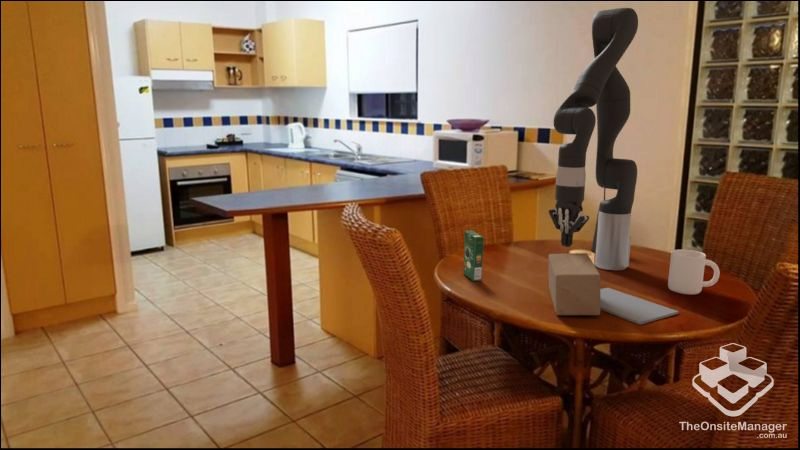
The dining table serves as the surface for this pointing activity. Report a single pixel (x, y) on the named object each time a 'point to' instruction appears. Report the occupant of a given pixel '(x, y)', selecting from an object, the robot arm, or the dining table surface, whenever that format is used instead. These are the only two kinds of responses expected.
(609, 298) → the slate mat
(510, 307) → the dining table surface
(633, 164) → the robot arm
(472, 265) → the coffee box
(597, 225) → the butter churn
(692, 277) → the mug
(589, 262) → the wooden block
